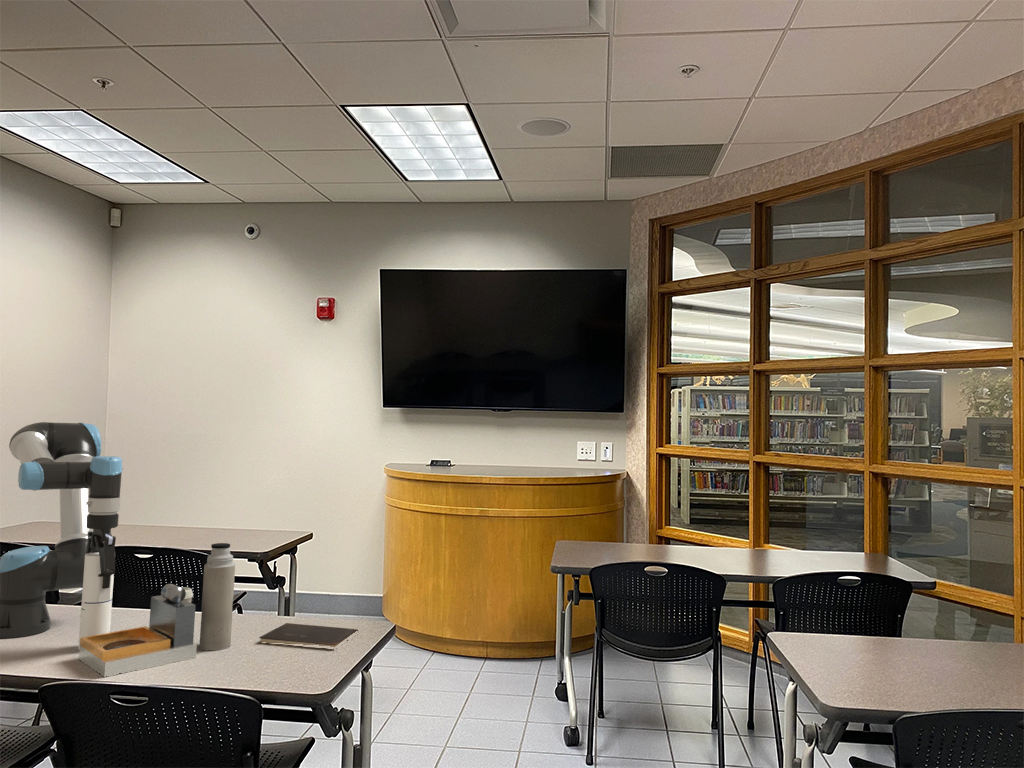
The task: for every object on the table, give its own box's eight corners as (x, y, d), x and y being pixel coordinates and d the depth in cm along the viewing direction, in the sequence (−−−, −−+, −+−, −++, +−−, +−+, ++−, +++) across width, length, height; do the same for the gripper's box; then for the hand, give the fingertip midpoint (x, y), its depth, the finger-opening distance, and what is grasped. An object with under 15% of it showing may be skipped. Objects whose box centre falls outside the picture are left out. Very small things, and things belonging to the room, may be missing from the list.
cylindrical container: (94, 652, 187) (101, 556, 189) (71, 650, 189) (78, 555, 190) (115, 645, 194) (121, 552, 196) (92, 642, 196) (99, 550, 197)
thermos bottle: (222, 640, 201) (228, 540, 203) (235, 646, 196) (241, 544, 198) (194, 645, 196) (200, 543, 197) (207, 652, 190) (213, 547, 192)
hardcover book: (335, 652, 195) (335, 644, 196) (258, 645, 200) (259, 637, 200) (358, 636, 211) (358, 628, 211) (286, 630, 215) (287, 622, 216)
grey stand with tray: (78, 659, 182) (83, 590, 183) (167, 642, 198) (171, 578, 199) (104, 677, 170) (109, 603, 171) (195, 657, 186) (200, 589, 187)
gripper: (74, 510, 198) (68, 592, 197) (102, 518, 184) (96, 606, 182) (104, 508, 204) (98, 588, 202) (133, 516, 189) (127, 602, 188)
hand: (97, 597), depth 192 cm, fingers open, 9 cm apart
